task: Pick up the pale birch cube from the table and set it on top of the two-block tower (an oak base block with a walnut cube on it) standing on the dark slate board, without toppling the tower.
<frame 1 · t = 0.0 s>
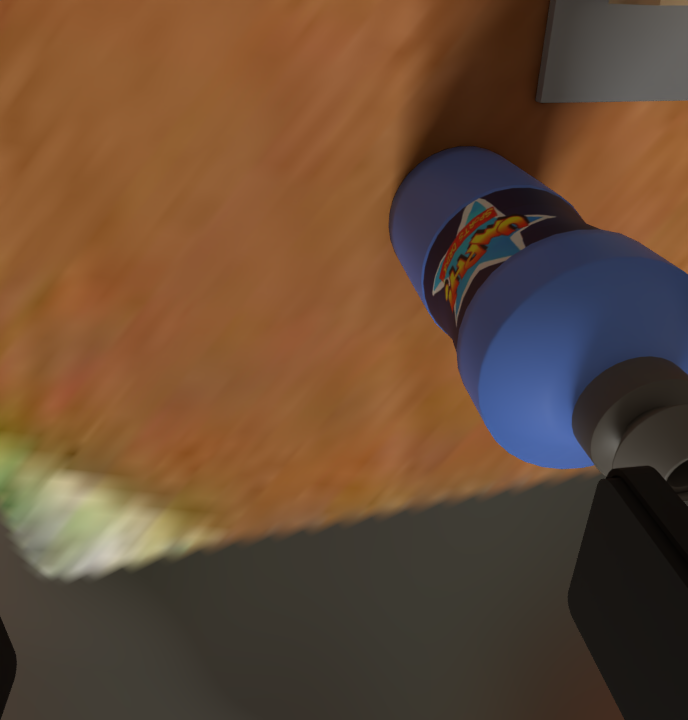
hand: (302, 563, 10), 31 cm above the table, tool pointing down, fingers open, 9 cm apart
water bottle: (457, 218, 40), on the table
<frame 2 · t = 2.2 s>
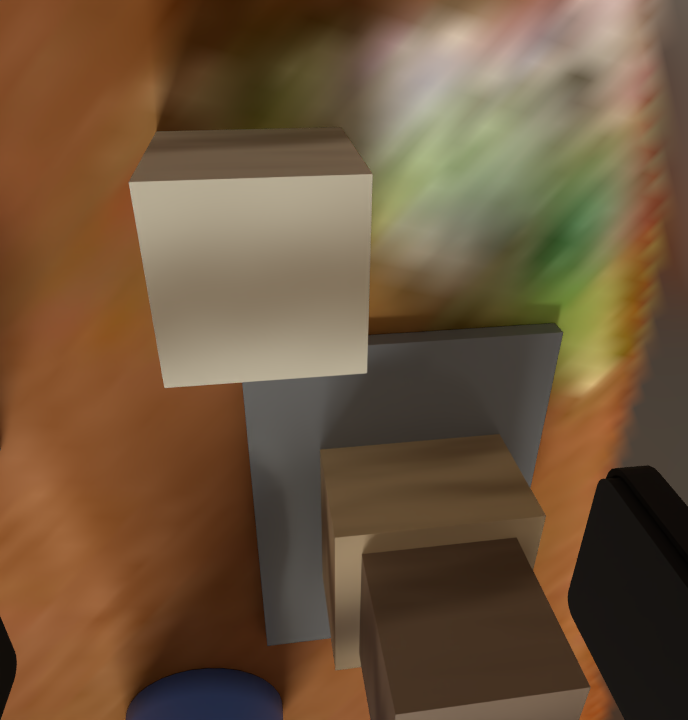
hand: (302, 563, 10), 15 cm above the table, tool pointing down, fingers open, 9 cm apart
slate board: (392, 497, 30), on the table
water bottle: (206, 711, 37), on the table
birch cube: (256, 217, 22), on the table
base block: (406, 508, 29), point 1 cm above the table, touching slate board, walnut cube
walnut cube: (434, 597, 25), point 6 cm above the table, touching base block
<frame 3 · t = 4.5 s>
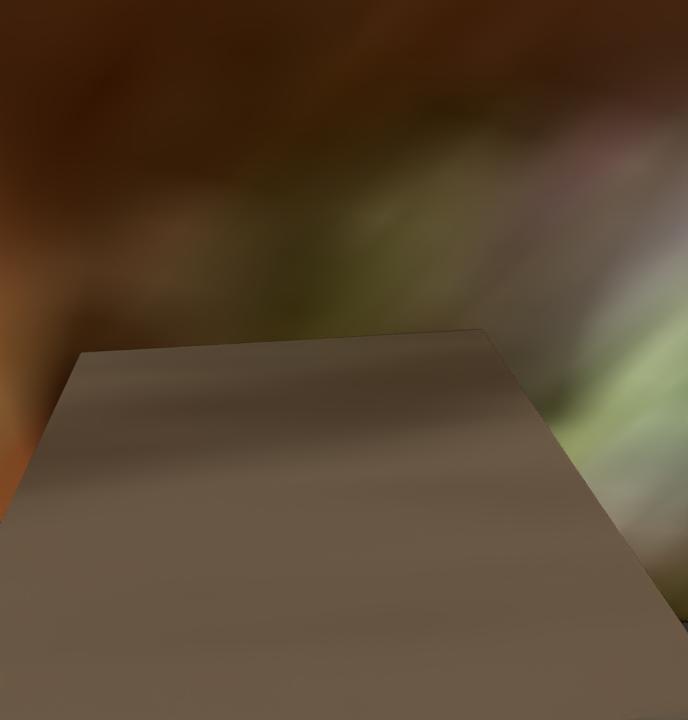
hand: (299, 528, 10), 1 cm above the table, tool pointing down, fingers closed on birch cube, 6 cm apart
birch cube: (295, 491, 11), on the table, touching gripper
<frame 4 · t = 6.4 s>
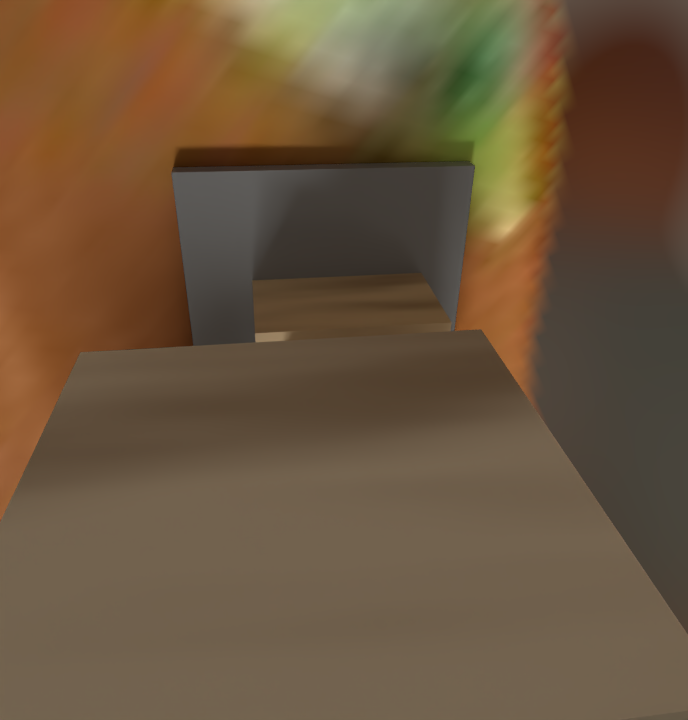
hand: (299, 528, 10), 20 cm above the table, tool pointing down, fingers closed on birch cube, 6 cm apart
slate board: (325, 342, 32), on the table
birch cube: (294, 491, 11), point 19 cm above the table, touching gripper
base block: (337, 349, 32), point 1 cm above the table, touching slate board, walnut cube
when the fingers open (13 cm above the table, at t = 8.8 s): birch cube stays where it is, resting on walnut cube.
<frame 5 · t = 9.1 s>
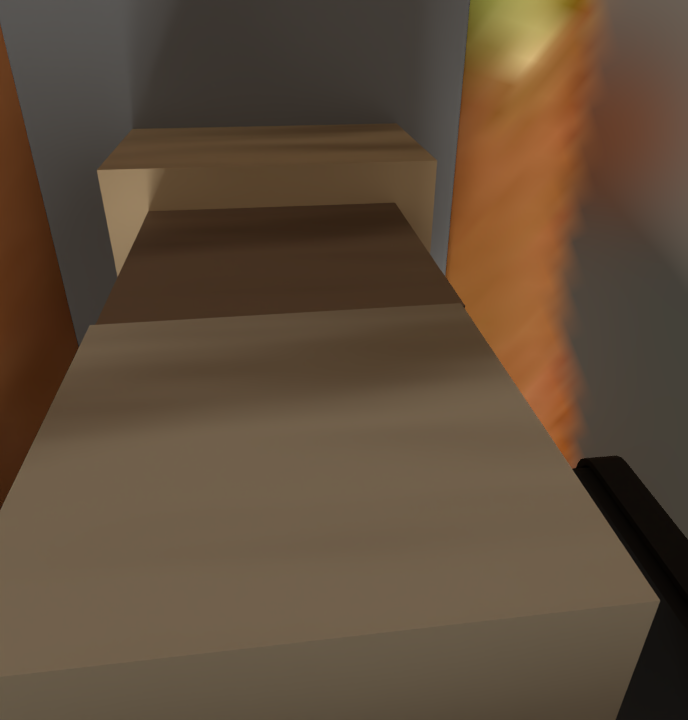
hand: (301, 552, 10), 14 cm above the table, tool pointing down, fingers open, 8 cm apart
slate board: (259, 243, 22), on the table
birch cube: (289, 458, 12), point 12 cm above the table, touching walnut cube
base block: (274, 251, 21), point 1 cm above the table, touching slate board, walnut cube
walnut cube: (280, 316, 17), point 6 cm above the table, touching base block, birch cube
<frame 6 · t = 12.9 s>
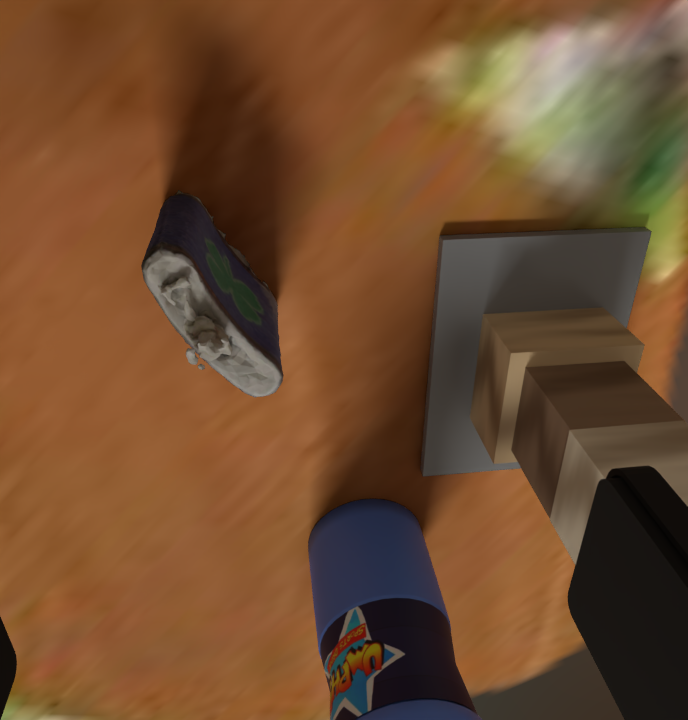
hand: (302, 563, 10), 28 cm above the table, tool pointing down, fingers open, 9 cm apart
slate board: (522, 359, 43), on the table
water bottle: (364, 539, 50), on the table
birch cube: (614, 471, 33), point 12 cm above the table, touching walnut cube
base block: (533, 364, 42), point 1 cm above the table, touching slate board, walnut cube
flask: (220, 259, 37), on the table
walnut cube: (565, 406, 38), point 6 cm above the table, touching base block, birch cube
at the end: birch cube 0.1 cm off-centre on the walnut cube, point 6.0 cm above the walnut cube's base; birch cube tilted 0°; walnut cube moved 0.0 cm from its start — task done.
